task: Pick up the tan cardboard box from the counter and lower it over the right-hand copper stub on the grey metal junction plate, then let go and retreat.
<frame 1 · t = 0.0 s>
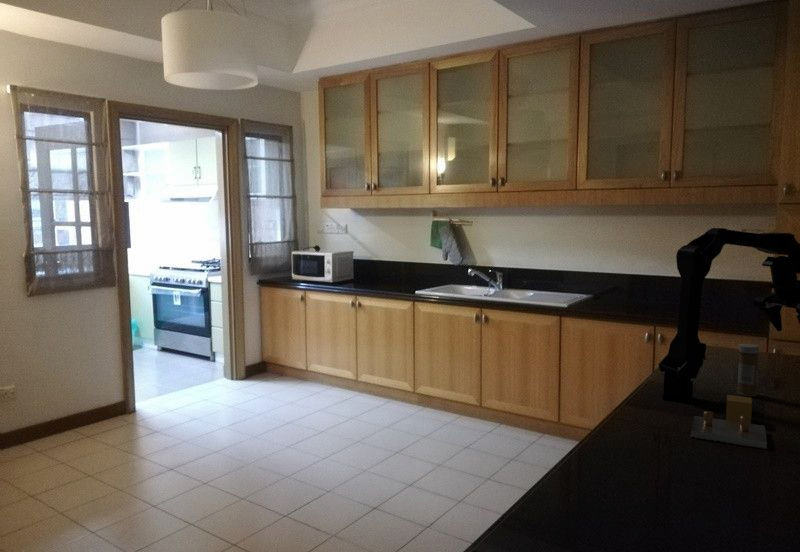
hand: (793, 334, 164), 15 cm above the counter, tool pointing down, fingers open, 9 cm apart
junction plate: (727, 434, 133), on the counter
sprinkles bottle: (746, 395, 162), on the counter
tan cardboard box: (738, 420, 142), on the counter
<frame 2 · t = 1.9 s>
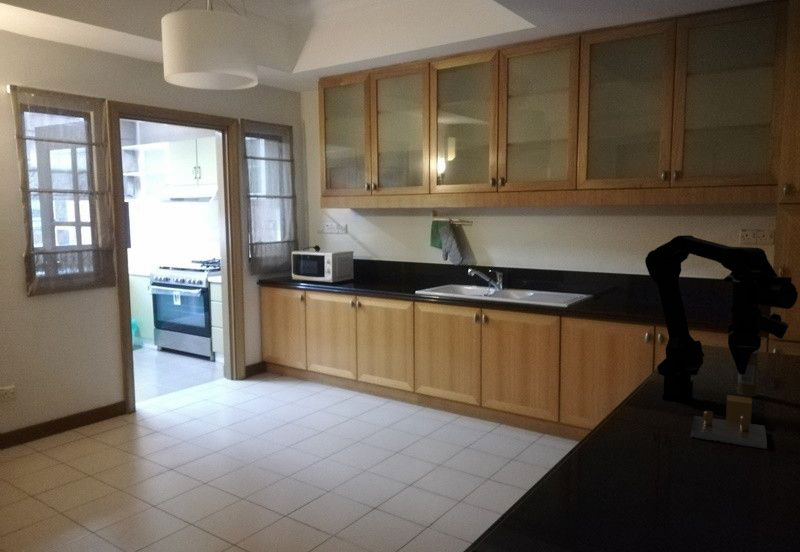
hand: (741, 369, 141), 12 cm above the counter, tool pointing down, fingers open, 9 cm apart
nothing on the counter moved.
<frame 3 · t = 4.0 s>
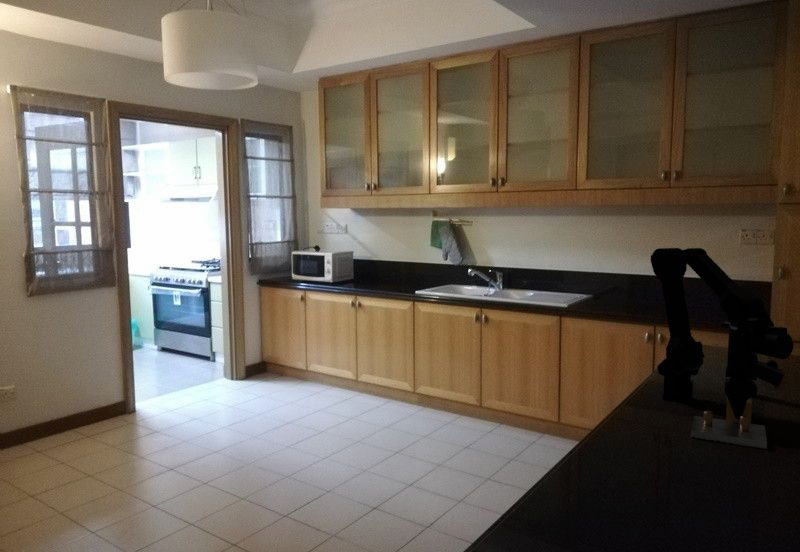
hand: (738, 415, 142), 1 cm above the counter, tool pointing down, fingers closed on tan cardboard box, 5 cm apart
tan cardboard box: (738, 420, 142), on the counter, touching gripper
everything else where it was.
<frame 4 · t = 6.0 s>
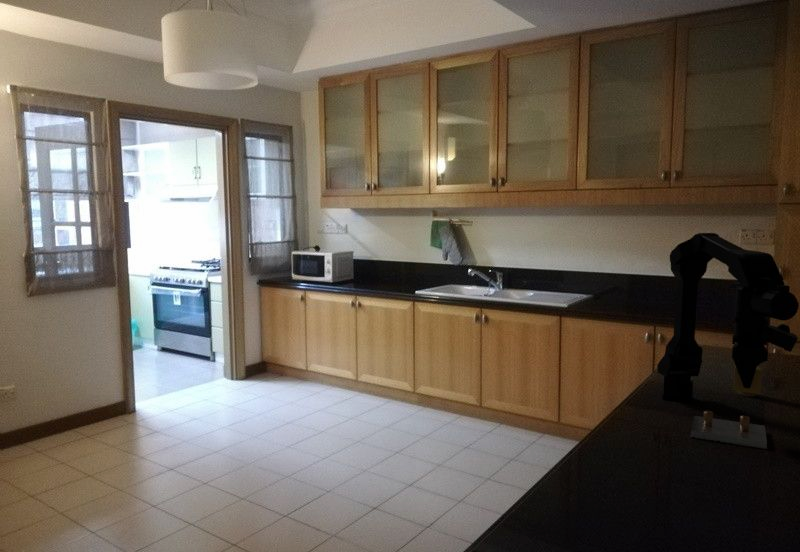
hand: (746, 384, 130), 11 cm above the counter, tool pointing down, fingers closed on tan cardboard box, 5 cm apart
tan cardboard box: (746, 389, 130), point 10 cm above the counter, touching gripper
everything else where it was.
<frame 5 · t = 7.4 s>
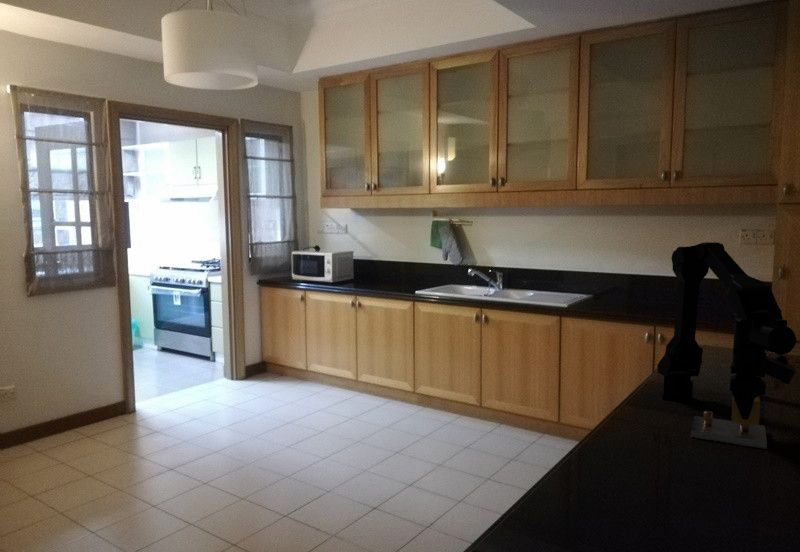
hand: (744, 415, 131), 5 cm above the counter, tool pointing down, fingers closed on tan cardboard box, 5 cm apart
tan cardboard box: (745, 420, 131), point 4 cm above the counter, touching gripper
everything else where it was.
when the fingers open (4 cm above the counter, at t = 8.4 s): tan cardboard box drops 1 cm, resting on junction plate.
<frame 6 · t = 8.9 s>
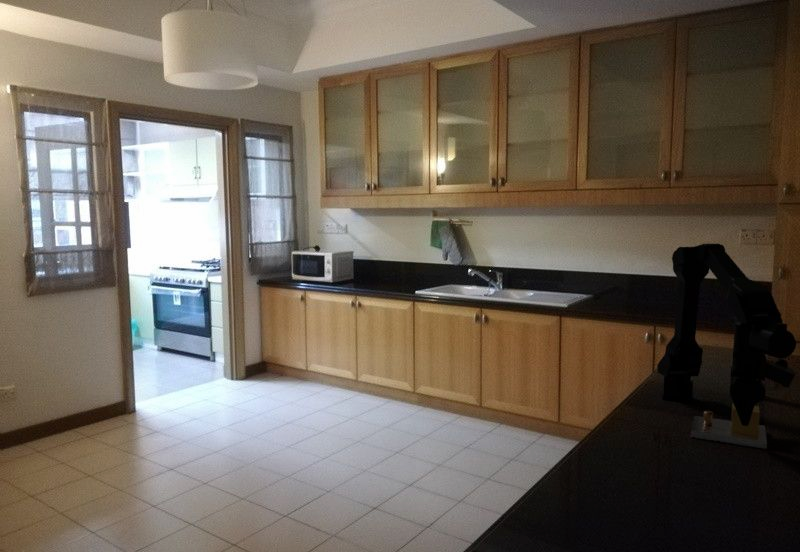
hand: (744, 419, 131), 4 cm above the counter, tool pointing down, fingers open, 9 cm apart
tan cardboard box: (744, 430, 131), point 1 cm above the counter, touching junction plate
everything else where it was.
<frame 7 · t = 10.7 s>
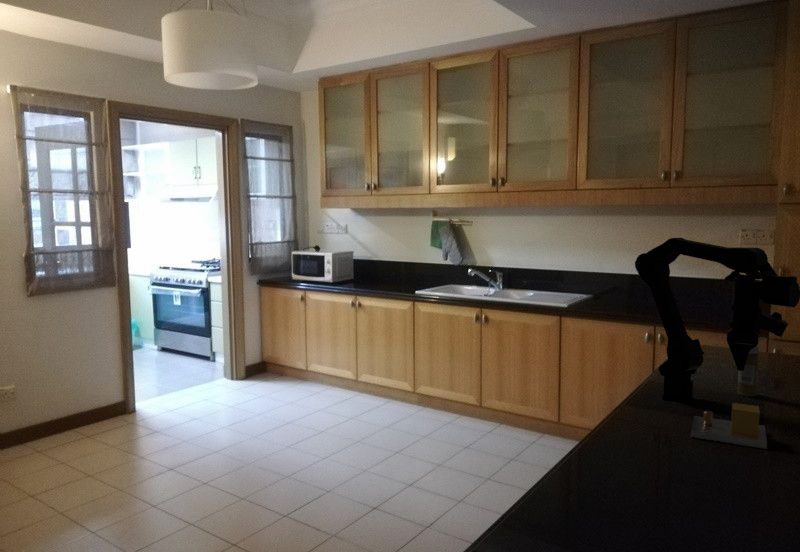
hand: (741, 366, 145), 12 cm above the counter, tool pointing down, fingers open, 9 cm apart
nothing on the counter moved.
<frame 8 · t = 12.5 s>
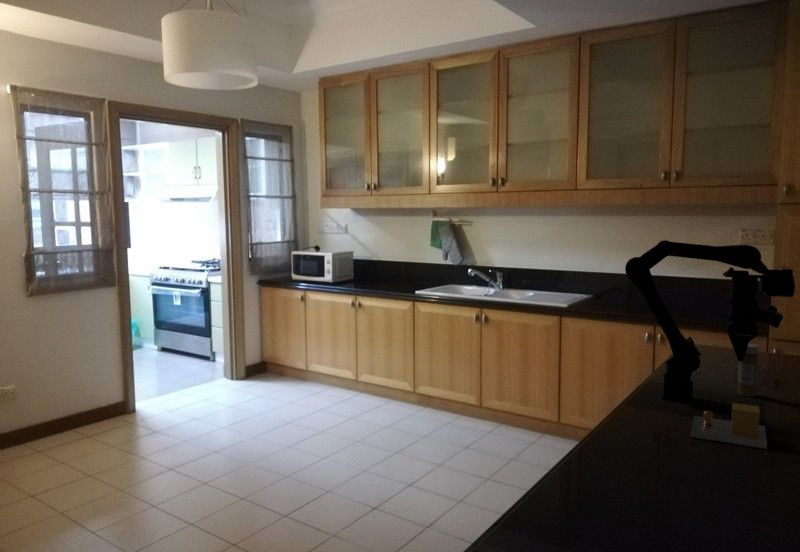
hand: (740, 357, 153), 12 cm above the counter, tool pointing down, fingers open, 9 cm apart
nothing on the counter moved.
at the end: tan cardboard box 0.1 cm from the target spot on the junction plate, point 1.5 cm above the junction plate's base; tan cardboard box tilted 0°; the gripper is holding nothing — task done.
